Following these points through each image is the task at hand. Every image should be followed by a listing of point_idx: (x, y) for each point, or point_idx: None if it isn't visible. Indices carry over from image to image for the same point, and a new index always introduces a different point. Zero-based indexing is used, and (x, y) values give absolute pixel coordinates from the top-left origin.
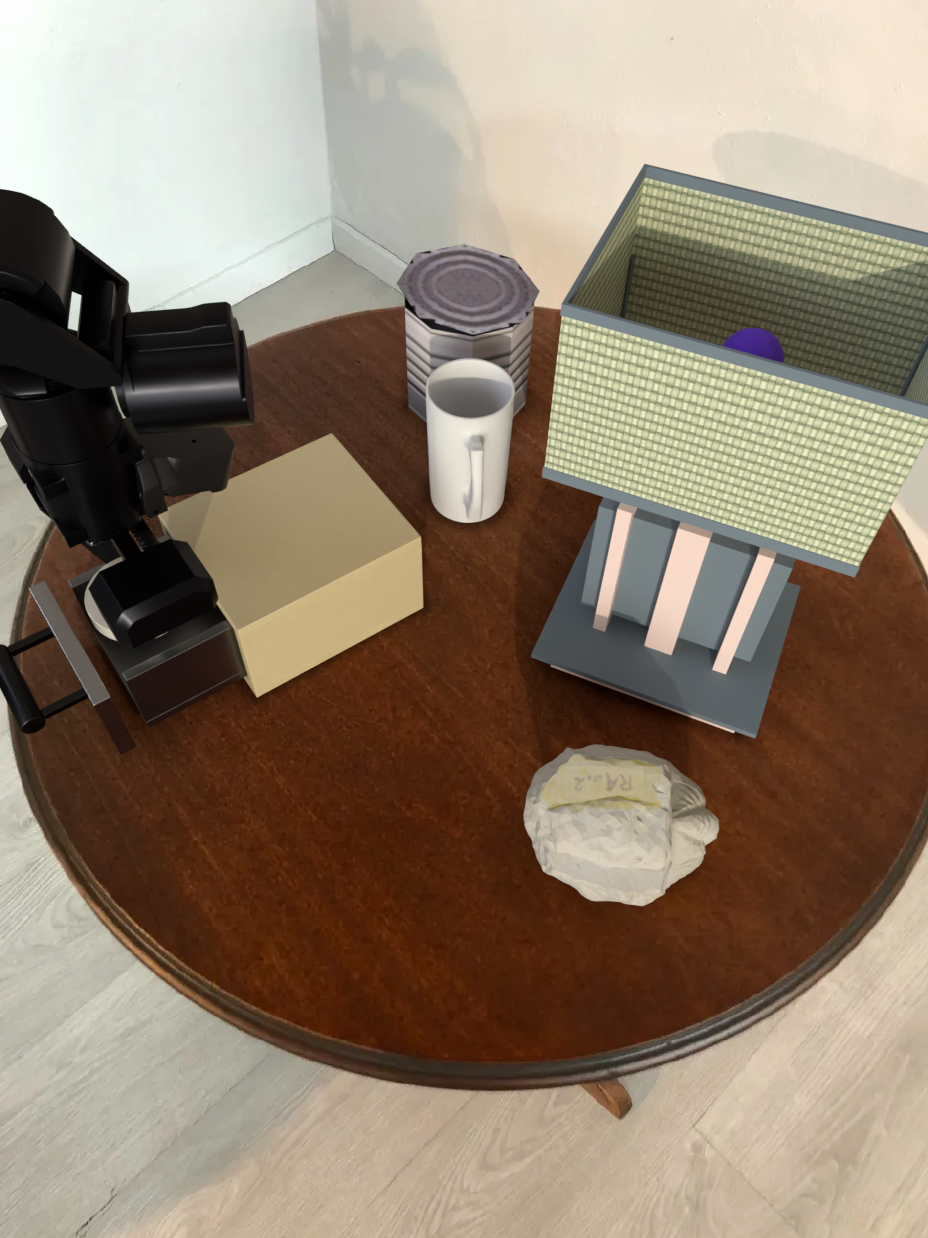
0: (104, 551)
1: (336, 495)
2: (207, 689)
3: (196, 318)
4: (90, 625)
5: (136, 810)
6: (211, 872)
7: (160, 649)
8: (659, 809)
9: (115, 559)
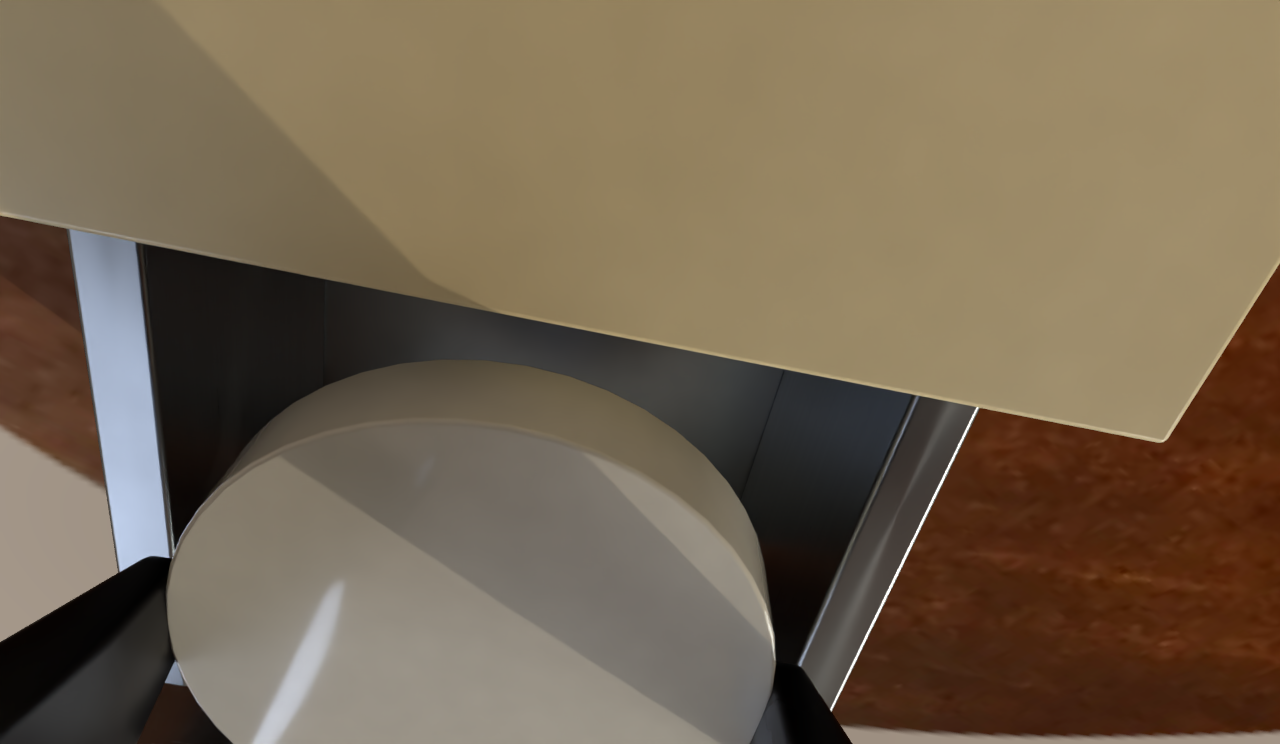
0: (110, 739)
1: None
2: None
3: None
4: None
5: (895, 617)
6: (1192, 601)
7: (550, 360)
8: None
9: (171, 627)
